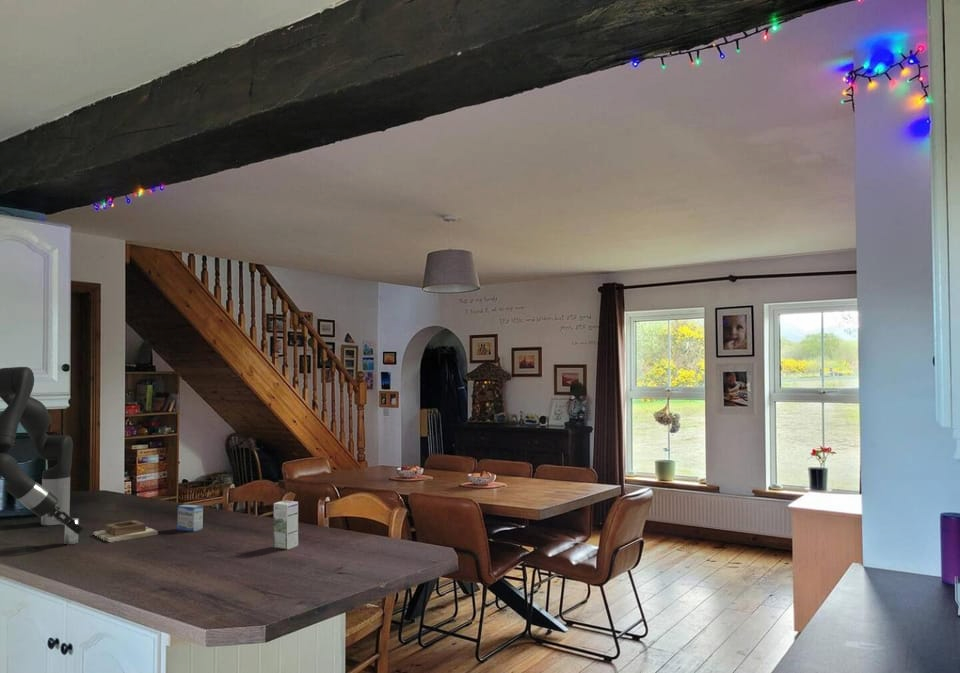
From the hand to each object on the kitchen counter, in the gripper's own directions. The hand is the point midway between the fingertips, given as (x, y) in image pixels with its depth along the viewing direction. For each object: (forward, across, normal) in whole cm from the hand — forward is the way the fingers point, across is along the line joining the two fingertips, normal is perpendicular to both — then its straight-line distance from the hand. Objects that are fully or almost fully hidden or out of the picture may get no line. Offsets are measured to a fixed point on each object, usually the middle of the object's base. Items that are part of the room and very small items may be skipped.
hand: (78, 530), depth 233 cm
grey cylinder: (+2, 0, +4) cm, 5 cm away
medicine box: (+27, -9, -21) cm, 36 cm away
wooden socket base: (+14, 0, -8) cm, 16 cm away
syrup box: (+34, -58, -28) cm, 73 cm away
